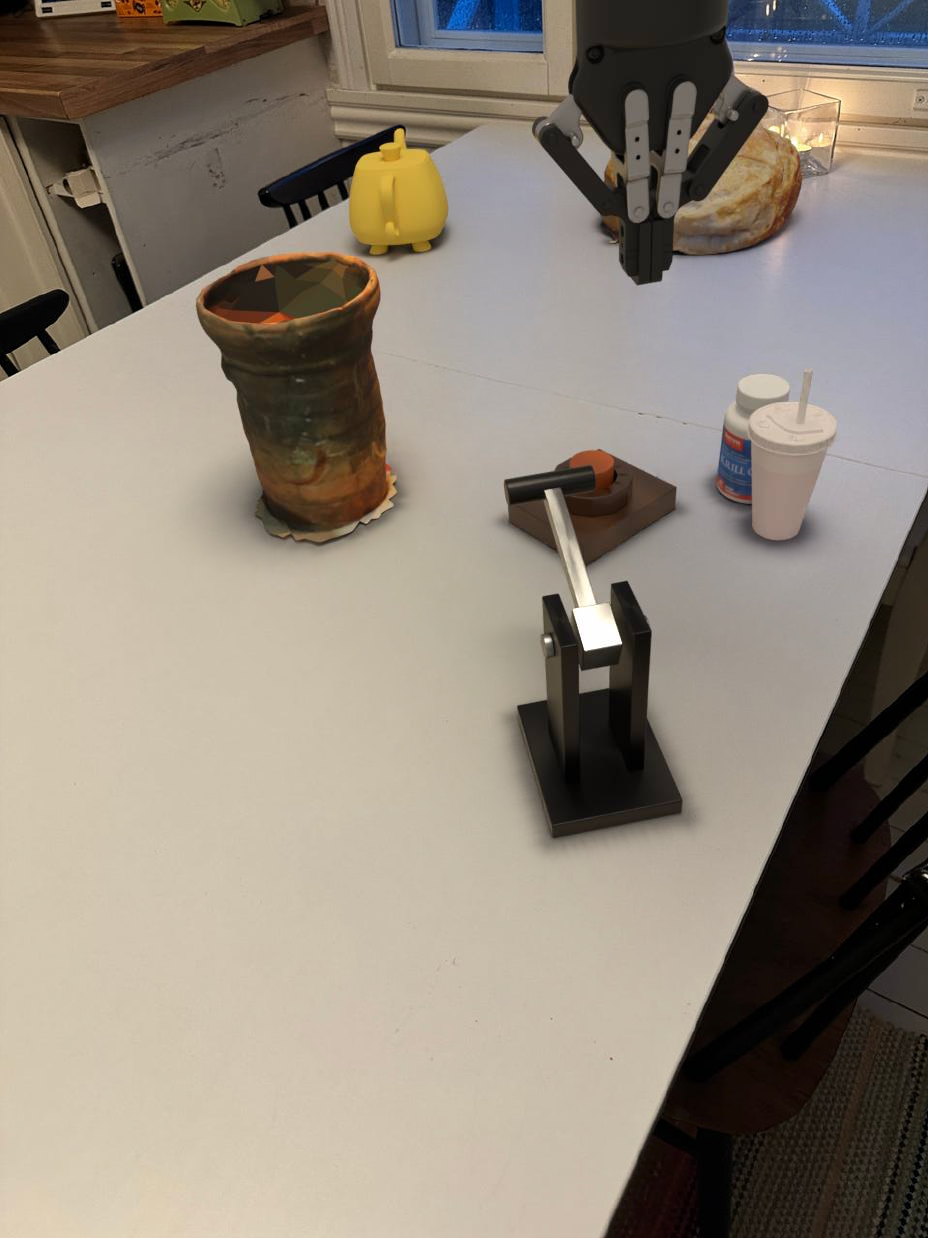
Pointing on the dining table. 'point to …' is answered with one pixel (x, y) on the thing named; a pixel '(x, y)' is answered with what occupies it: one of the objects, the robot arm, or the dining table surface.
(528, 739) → the switch bracket
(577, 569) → the switch
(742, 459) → the pill bottle
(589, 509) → the button block
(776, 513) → the smoothie
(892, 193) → the dining table surface
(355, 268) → the vessel
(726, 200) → the bread
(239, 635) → the dining table surface
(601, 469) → the button
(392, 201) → the teapot
